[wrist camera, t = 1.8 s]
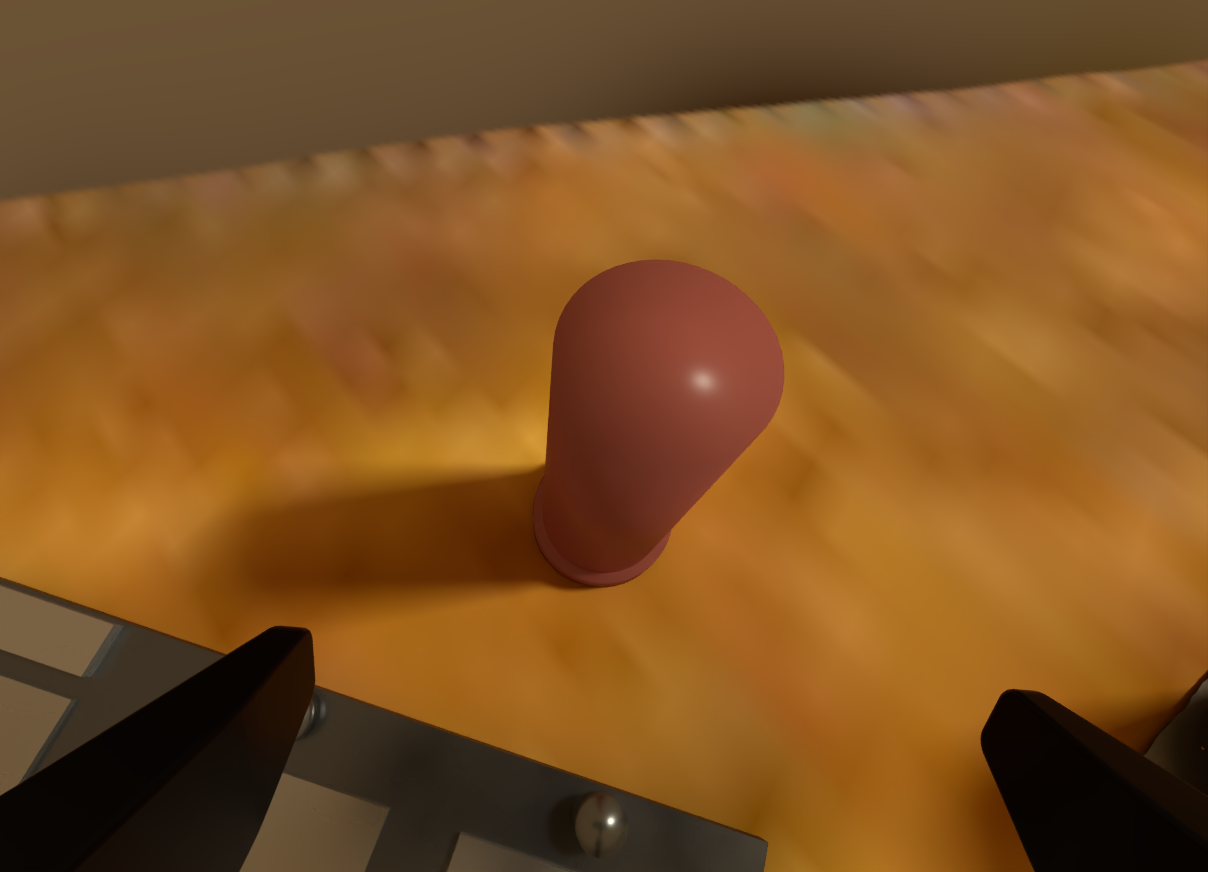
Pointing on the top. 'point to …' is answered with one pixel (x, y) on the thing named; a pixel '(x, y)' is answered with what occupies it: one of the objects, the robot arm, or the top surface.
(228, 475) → the top surface
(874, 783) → the top surface
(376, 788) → the board
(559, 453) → the red joystick handle
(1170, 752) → the condiment
